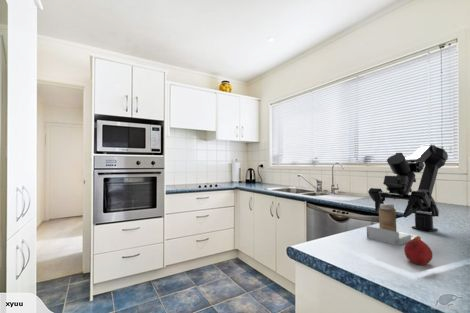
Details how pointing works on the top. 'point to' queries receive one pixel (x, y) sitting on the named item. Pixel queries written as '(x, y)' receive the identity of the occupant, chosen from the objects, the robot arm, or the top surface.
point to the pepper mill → (387, 217)
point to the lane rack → (388, 235)
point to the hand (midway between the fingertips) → (389, 214)
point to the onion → (418, 251)
